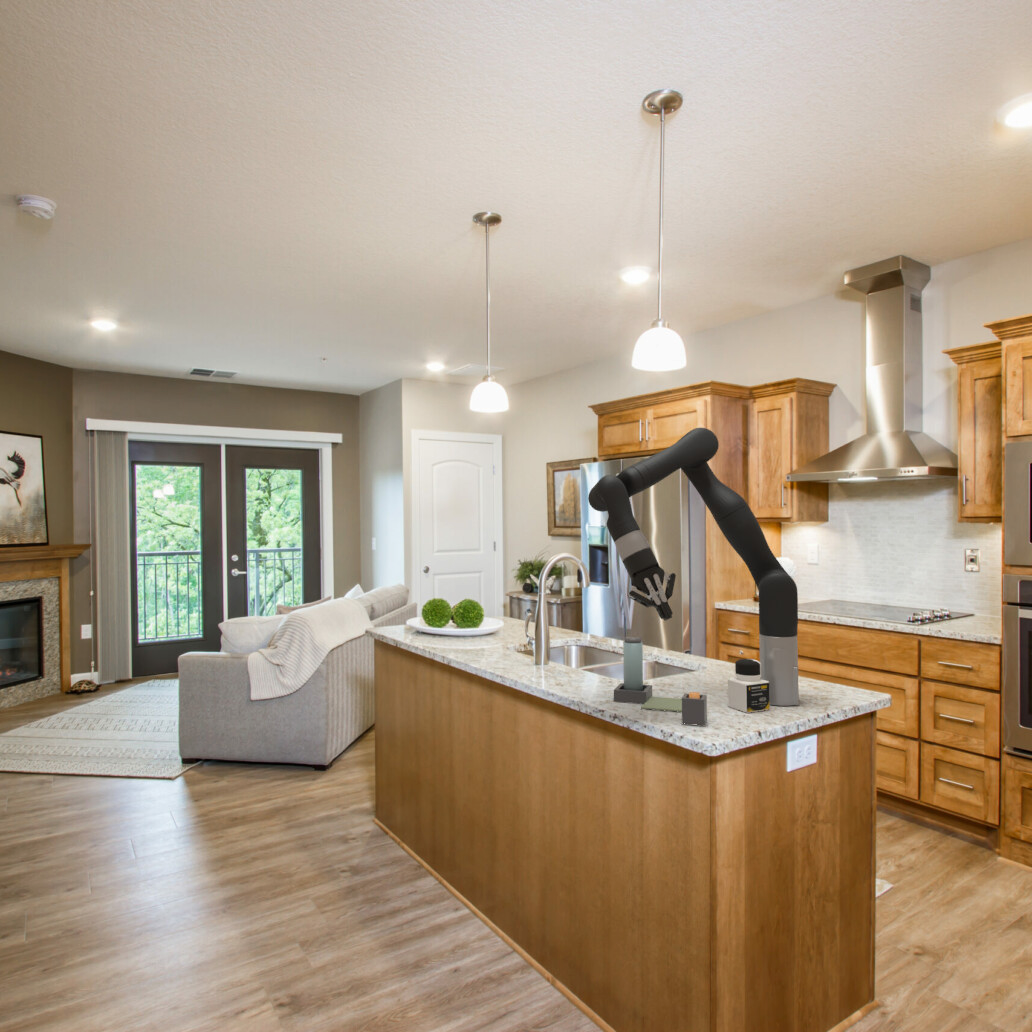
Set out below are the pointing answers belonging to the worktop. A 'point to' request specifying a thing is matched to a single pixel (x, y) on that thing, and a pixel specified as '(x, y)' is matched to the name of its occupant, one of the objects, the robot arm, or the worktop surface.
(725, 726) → the worktop surface
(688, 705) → the gray square socket block
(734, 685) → the medicine bottle
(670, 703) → the rubber mat
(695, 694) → the plunger
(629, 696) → the cartridge socket
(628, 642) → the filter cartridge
